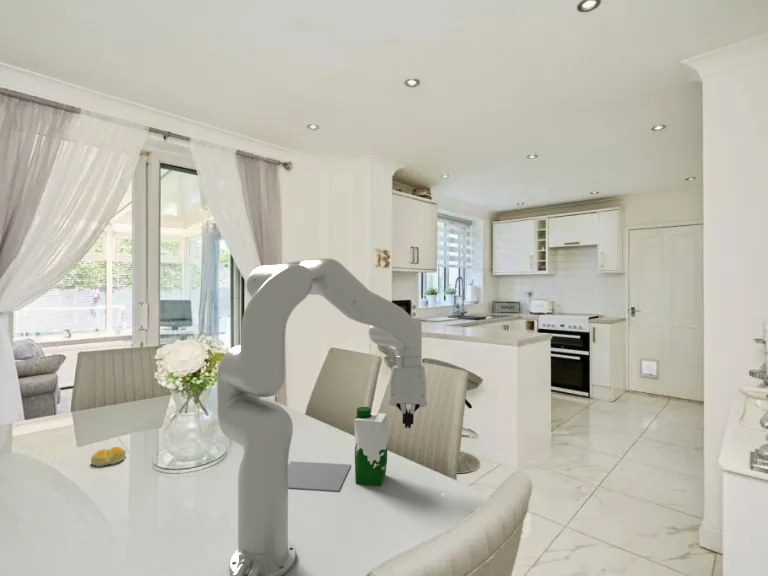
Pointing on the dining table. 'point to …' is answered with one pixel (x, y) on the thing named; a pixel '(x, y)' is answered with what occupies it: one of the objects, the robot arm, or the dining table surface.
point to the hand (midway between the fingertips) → (408, 426)
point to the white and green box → (370, 446)
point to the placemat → (316, 476)
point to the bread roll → (108, 456)
